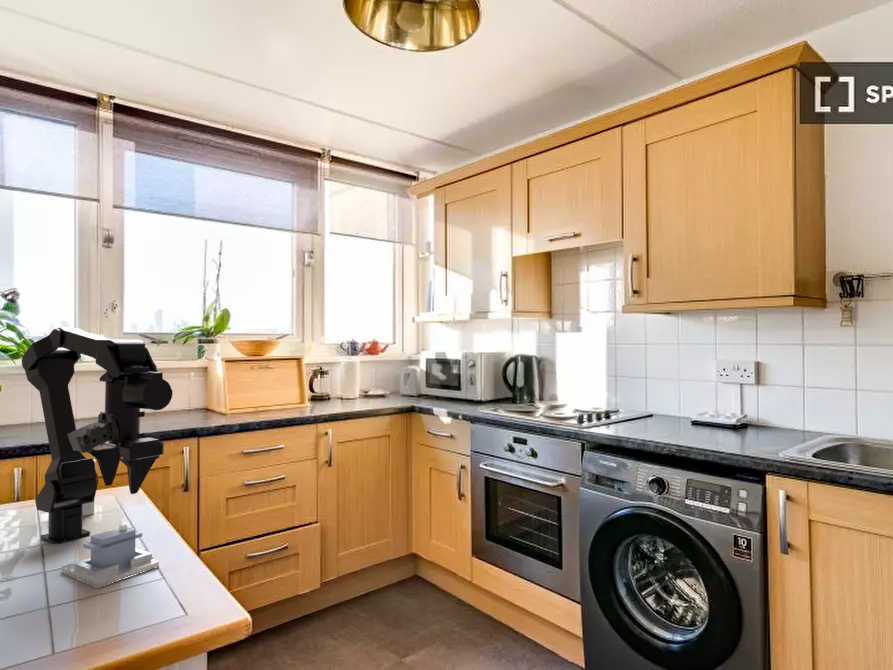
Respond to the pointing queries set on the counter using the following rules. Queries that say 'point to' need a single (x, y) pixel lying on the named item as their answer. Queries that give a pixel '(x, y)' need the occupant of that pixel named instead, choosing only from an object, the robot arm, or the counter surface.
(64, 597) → the counter surface
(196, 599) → the counter surface
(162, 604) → the counter surface
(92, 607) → the counter surface
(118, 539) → the block
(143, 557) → the mount plate
